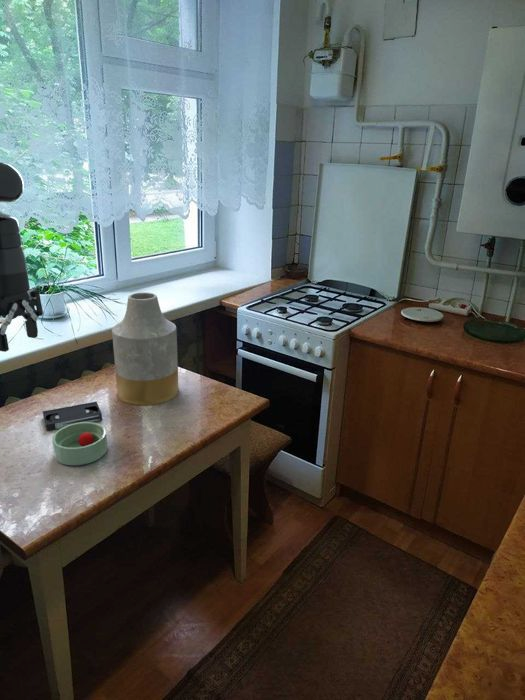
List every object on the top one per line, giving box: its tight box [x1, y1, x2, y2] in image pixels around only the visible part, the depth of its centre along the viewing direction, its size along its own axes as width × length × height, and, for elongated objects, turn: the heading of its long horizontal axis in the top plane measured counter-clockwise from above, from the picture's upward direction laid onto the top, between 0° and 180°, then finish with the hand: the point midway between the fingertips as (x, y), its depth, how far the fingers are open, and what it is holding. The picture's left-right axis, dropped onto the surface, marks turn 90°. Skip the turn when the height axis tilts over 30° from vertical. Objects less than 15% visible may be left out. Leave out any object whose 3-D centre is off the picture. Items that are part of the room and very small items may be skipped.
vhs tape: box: [42, 401, 103, 432], centre depth 135 cm, size 14×8×2 cm, turn 117°
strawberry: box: [79, 433, 95, 447], centre depth 122 cm, size 4×4×4 cm
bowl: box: [51, 422, 109, 466], centre depth 120 cm, size 12×12×5 cm
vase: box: [111, 292, 180, 407], centre depth 147 cm, size 18×18×30 cm
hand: (18, 343), depth 105 cm, fingers open, 8 cm apart
